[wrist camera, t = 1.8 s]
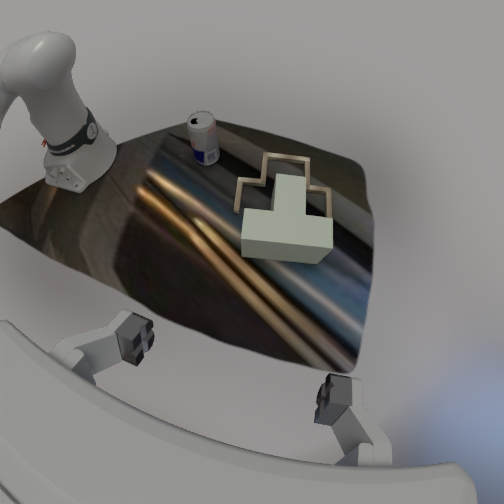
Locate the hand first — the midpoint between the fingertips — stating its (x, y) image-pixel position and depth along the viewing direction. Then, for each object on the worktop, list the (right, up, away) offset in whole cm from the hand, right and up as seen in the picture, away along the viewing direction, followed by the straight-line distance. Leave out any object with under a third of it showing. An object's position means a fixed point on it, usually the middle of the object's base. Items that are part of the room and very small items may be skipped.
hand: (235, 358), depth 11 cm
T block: (+6, +9, +41) cm, 42 cm away
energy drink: (-9, +25, +46) cm, 53 cm away
